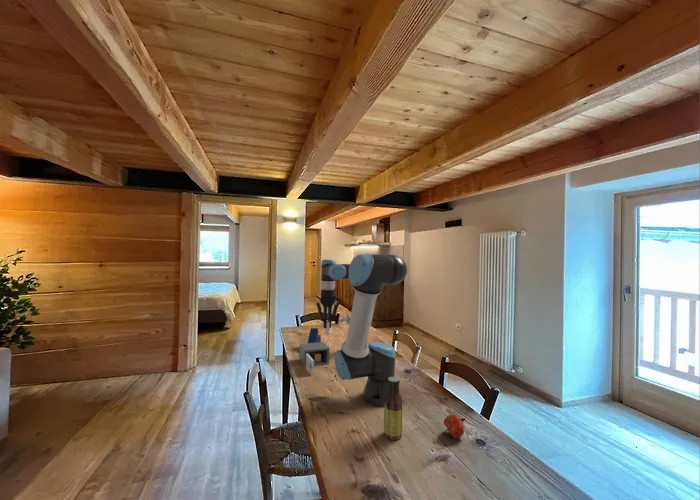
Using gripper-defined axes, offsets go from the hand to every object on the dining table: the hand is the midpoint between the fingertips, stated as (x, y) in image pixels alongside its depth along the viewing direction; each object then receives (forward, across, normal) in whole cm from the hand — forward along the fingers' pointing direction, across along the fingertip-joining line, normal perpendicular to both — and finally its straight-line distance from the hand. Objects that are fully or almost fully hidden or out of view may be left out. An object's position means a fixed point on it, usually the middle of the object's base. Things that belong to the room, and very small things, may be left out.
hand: (326, 334), depth 159 cm
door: (+19, +8, -4) cm, 21 cm away
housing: (+19, +2, -16) cm, 25 cm away
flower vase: (+20, -25, -22) cm, 38 cm away
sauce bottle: (+21, -3, +60) cm, 64 cm away
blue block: (+19, -5, -38) cm, 43 cm away
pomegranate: (+21, -23, +68) cm, 74 cm away
